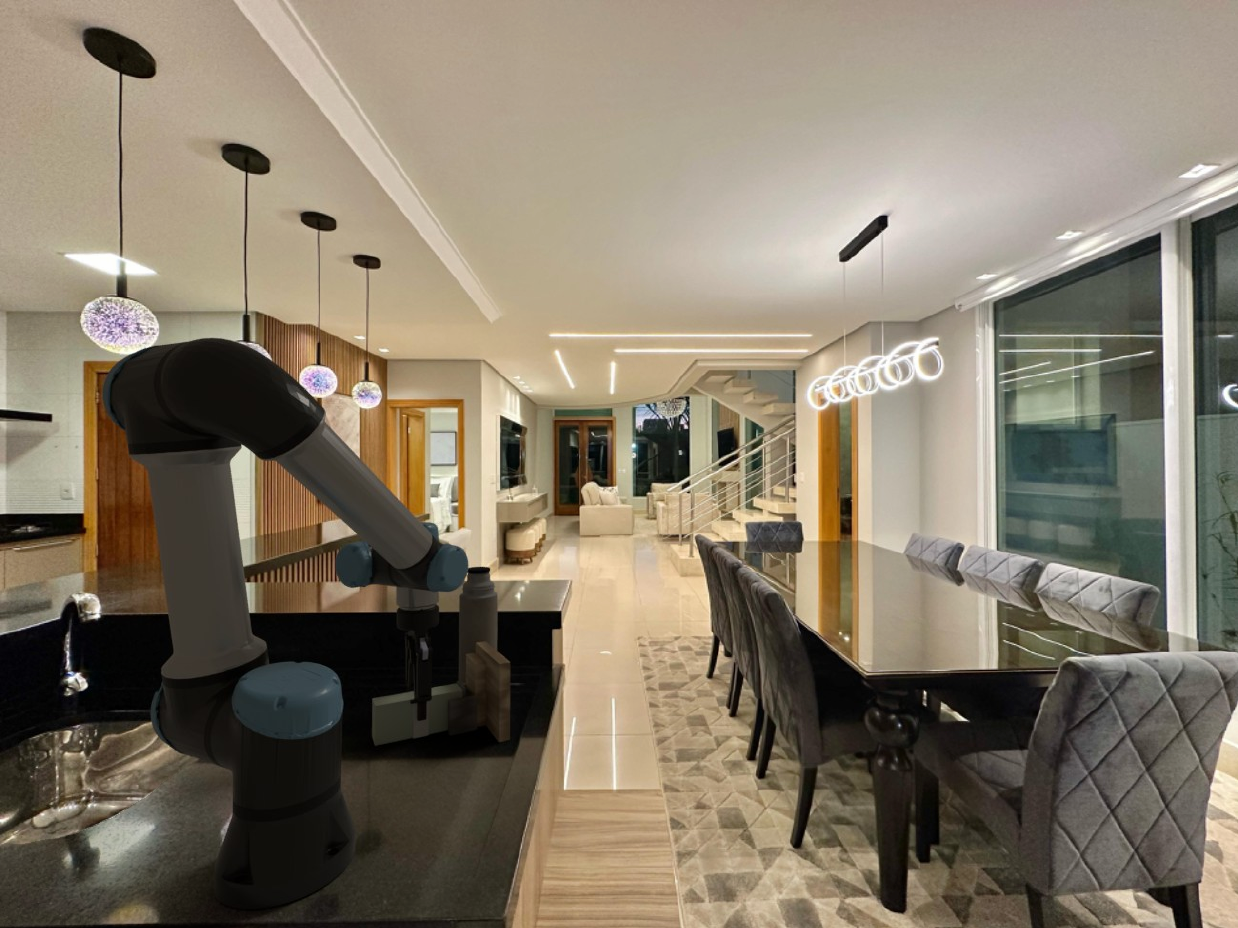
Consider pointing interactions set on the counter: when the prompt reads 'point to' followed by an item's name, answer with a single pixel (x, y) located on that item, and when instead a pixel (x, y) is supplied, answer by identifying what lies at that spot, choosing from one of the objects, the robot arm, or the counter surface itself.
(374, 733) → the rectangular block
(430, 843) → the counter surface
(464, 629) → the thermos bottle
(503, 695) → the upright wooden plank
